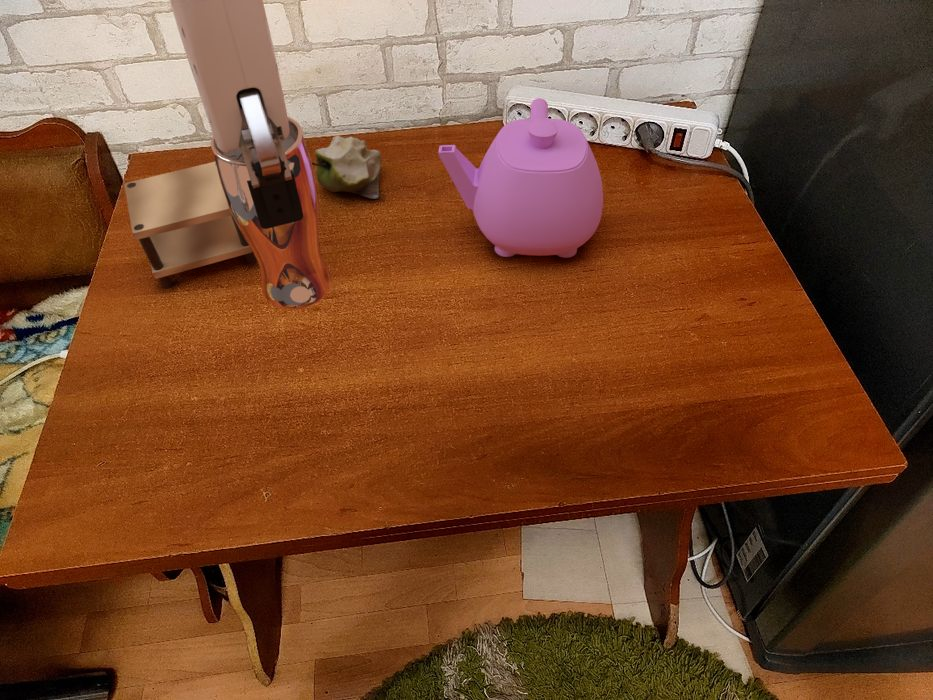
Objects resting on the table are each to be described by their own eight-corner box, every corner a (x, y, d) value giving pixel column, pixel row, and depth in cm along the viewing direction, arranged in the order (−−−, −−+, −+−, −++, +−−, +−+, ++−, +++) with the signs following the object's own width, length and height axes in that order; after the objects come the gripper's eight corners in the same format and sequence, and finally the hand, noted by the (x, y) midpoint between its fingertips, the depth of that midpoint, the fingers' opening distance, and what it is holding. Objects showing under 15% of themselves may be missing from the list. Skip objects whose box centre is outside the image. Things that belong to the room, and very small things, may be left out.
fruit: (326, 217, 93) (303, 166, 87) (326, 181, 99) (304, 132, 94) (391, 199, 92) (373, 146, 87) (386, 164, 99) (369, 113, 93)
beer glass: (241, 301, 60) (187, 151, 48) (285, 251, 64) (244, 103, 52) (310, 323, 58) (270, 173, 47) (350, 271, 62) (323, 122, 51)
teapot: (447, 176, 96) (443, 74, 85) (590, 177, 96) (605, 75, 84) (438, 272, 84) (432, 169, 72) (603, 275, 83) (623, 170, 72)
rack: (161, 291, 82) (132, 233, 76) (151, 241, 88) (123, 183, 81) (260, 263, 85) (240, 205, 78) (244, 216, 91) (225, 158, 84)
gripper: (123, -97, 44) (206, 145, 58) (150, 13, 34) (243, 277, 47) (240, -112, 46) (293, 126, 59) (300, -12, 35) (349, 249, 49)
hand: (271, 191), depth 53 cm, fingers closed on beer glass, 7 cm apart
